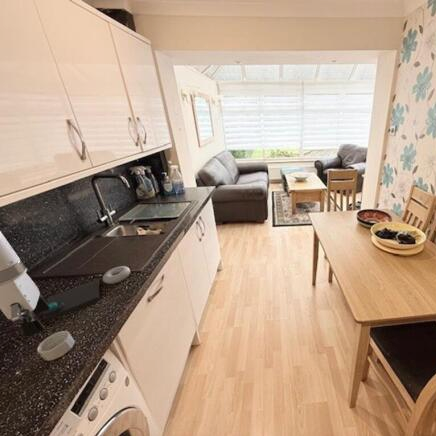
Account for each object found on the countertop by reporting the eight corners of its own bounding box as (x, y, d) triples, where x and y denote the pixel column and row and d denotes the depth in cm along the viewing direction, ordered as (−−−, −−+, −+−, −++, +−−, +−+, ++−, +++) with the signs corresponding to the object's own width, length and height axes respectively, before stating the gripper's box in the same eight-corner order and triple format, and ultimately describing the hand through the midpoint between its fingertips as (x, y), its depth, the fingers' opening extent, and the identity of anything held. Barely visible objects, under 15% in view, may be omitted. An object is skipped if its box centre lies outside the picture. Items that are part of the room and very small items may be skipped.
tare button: (47, 311, 84) (45, 308, 83) (48, 307, 86) (47, 304, 85) (57, 307, 85) (55, 305, 85) (58, 303, 87) (56, 301, 87)
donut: (105, 277, 105) (103, 289, 97) (101, 270, 103) (100, 282, 95) (131, 268, 109) (131, 279, 102) (128, 261, 108) (128, 272, 100)
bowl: (38, 359, 70) (30, 350, 68) (63, 338, 76) (57, 329, 75) (56, 363, 68) (49, 354, 67) (81, 341, 75) (75, 332, 73)
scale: (44, 322, 83) (40, 316, 82) (50, 300, 93) (46, 294, 92) (100, 300, 91) (96, 294, 90) (99, 281, 101) (96, 276, 100)
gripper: (-8, 263, 64) (28, 310, 71) (-33, 299, 51) (13, 351, 59) (30, 252, 68) (60, 297, 75) (15, 282, 55) (53, 333, 63)
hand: (40, 321), depth 67 cm, fingers open, 9 cm apart
